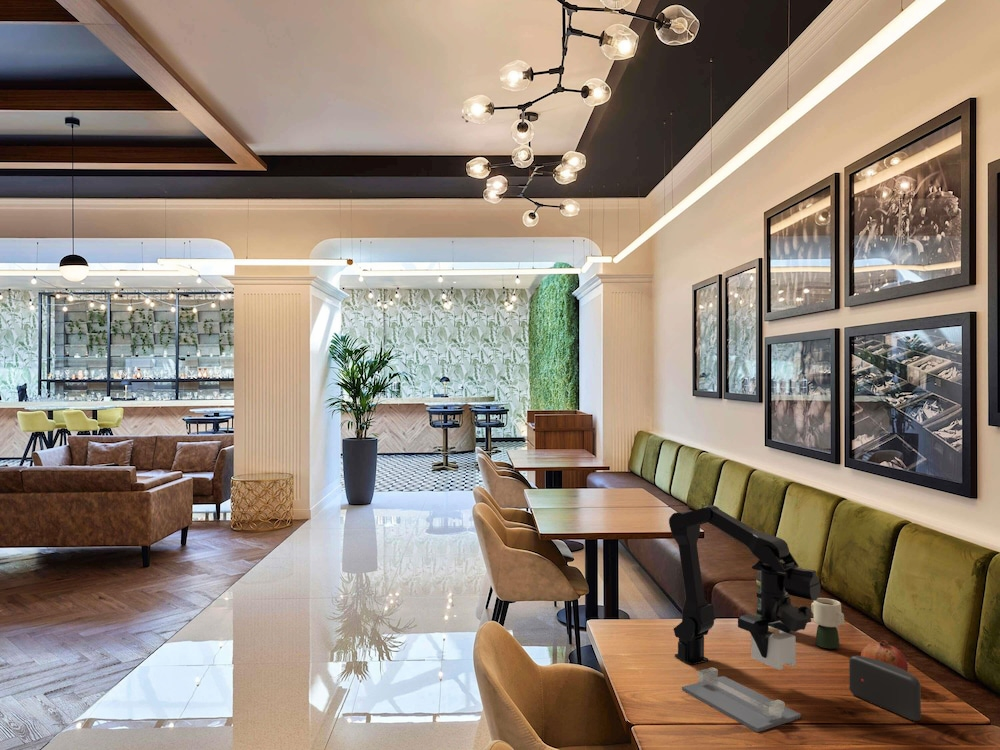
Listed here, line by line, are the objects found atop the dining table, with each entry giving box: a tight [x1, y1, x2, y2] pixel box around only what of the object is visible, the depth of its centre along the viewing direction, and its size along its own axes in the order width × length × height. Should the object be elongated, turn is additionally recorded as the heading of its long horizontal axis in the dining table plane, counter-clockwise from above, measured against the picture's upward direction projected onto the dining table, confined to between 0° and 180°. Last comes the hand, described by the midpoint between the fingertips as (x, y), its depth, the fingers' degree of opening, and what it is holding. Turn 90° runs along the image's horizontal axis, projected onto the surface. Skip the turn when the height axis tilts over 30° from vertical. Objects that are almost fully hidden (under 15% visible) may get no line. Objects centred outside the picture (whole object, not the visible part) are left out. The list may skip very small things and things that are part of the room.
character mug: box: [810, 597, 845, 650], centre depth 184 cm, size 11×7×13 cm, turn 21°
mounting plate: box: [681, 675, 802, 733], centre depth 148 cm, size 14×22×1 cm, turn 28°
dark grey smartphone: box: [848, 655, 922, 722], centre depth 148 cm, size 16×5×9 cm, turn 28°
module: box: [750, 626, 797, 671], centre depth 157 cm, size 6×8×8 cm
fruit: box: [860, 639, 909, 672], centre depth 162 cm, size 11×10×10 cm
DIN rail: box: [697, 667, 786, 721], centre depth 149 cm, size 5×21×3 cm, turn 28°
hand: (773, 655), depth 157 cm, fingers closed on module, 6 cm apart
